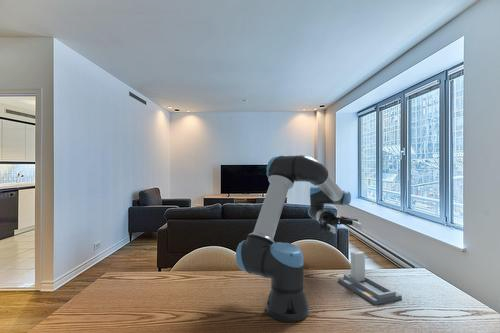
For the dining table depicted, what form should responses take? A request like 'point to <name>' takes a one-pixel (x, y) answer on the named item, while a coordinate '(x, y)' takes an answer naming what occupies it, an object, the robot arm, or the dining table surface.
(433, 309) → the dining table surface
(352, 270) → the switch tab
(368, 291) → the switch board
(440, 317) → the dining table surface
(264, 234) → the robot arm
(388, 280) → the dining table surface
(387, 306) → the dining table surface
